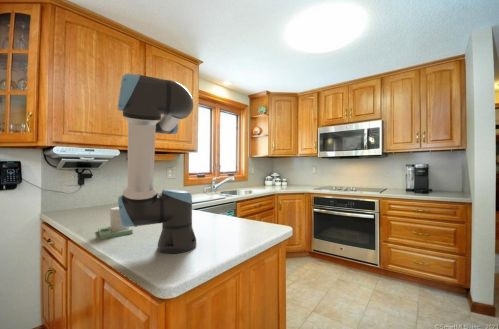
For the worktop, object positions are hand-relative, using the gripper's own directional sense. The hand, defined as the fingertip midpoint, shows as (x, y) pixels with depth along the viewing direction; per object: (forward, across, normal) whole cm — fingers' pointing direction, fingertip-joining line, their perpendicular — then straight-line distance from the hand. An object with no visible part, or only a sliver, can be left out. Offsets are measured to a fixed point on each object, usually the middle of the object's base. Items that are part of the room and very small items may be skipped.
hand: (136, 187), depth 116 cm
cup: (+22, +4, +7) cm, 24 cm away
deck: (+22, +4, +9) cm, 24 cm away
